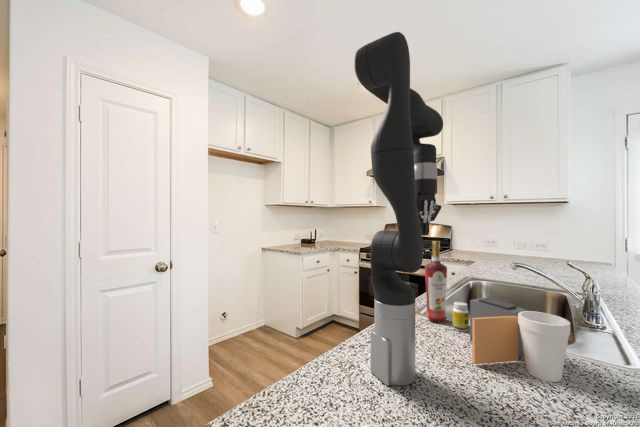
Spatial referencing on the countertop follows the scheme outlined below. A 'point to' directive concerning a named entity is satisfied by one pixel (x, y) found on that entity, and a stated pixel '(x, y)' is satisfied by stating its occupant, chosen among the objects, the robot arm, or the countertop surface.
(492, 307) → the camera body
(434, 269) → the liquor
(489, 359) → the side door
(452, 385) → the countertop surface
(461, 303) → the supplement bottle
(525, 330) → the foam cup
